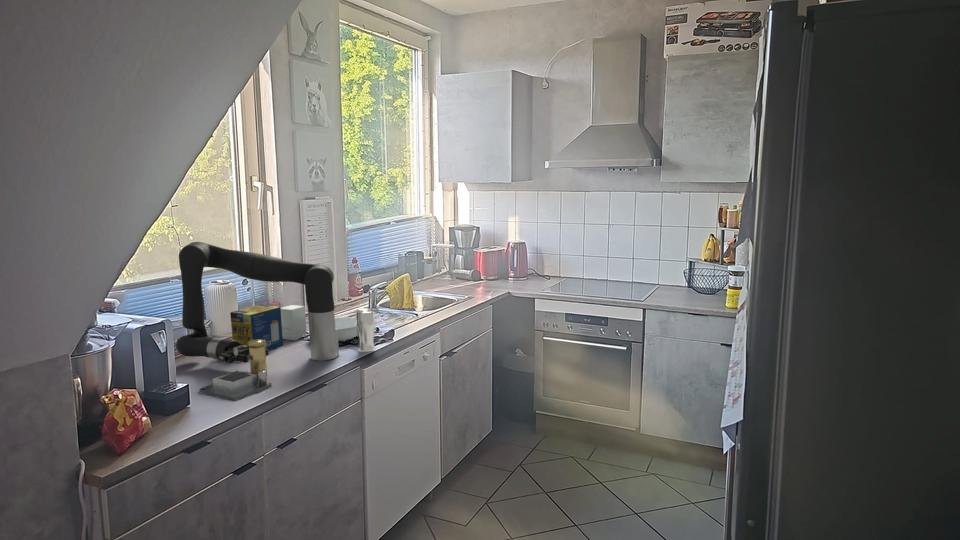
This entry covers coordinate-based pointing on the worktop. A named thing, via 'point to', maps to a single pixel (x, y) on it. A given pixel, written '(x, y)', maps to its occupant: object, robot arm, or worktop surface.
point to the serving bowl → (346, 328)
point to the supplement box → (293, 322)
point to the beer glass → (365, 329)
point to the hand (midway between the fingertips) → (257, 355)
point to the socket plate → (237, 385)
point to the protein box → (258, 325)
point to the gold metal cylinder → (257, 356)
